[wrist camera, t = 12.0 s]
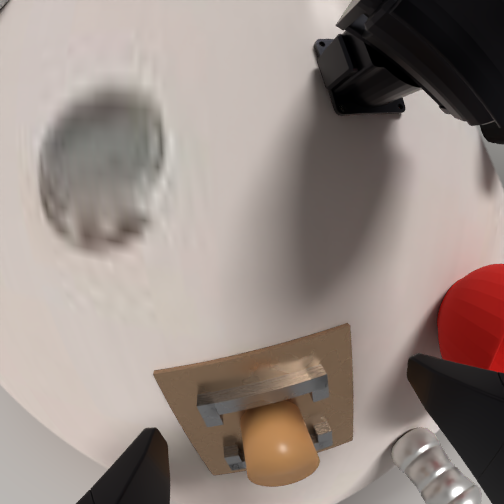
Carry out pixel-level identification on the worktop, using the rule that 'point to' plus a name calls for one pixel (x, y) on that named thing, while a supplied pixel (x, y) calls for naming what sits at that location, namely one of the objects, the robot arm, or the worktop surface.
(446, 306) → the ceramic cup
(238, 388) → the socket
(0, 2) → the utensil holder
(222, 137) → the worktop surface
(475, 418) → the robot arm
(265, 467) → the cap
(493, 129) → the film camera
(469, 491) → the plastic bottle
